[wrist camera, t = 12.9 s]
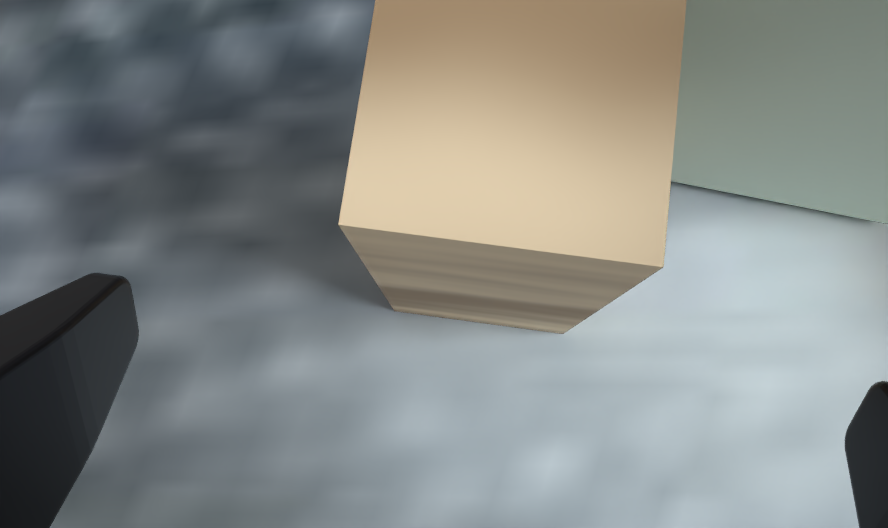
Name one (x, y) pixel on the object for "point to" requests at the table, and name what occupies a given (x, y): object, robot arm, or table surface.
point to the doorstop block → (514, 155)
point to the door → (786, 103)
